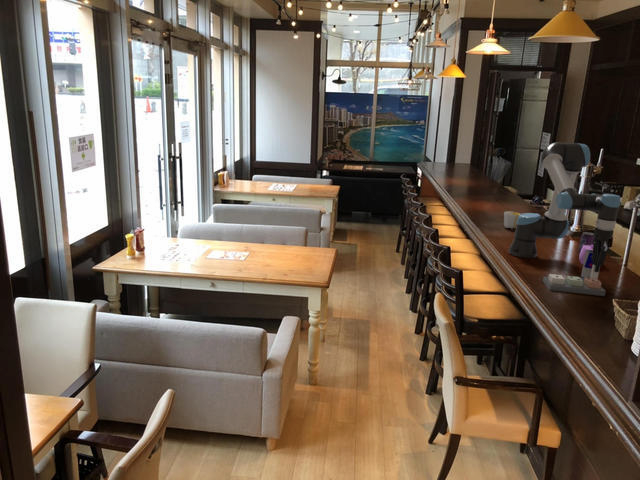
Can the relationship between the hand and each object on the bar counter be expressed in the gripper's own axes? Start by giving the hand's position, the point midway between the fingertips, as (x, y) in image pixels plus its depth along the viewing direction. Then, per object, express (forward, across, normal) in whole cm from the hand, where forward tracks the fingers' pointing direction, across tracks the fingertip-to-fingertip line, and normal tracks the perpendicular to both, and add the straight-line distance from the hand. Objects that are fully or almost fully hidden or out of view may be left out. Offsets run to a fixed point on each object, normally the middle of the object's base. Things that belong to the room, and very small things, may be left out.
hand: (593, 277), depth 238 cm
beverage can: (+6, -68, +19) cm, 71 cm away
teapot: (+6, -48, +15) cm, 51 cm away
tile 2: (+4, 0, -8) cm, 9 cm away
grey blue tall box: (+6, -16, +3) cm, 18 cm away
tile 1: (+4, 0, -16) cm, 17 cm away
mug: (+6, -116, -13) cm, 117 cm away
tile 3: (+4, 0, 0) cm, 4 cm away
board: (+6, 0, -8) cm, 10 cm away
